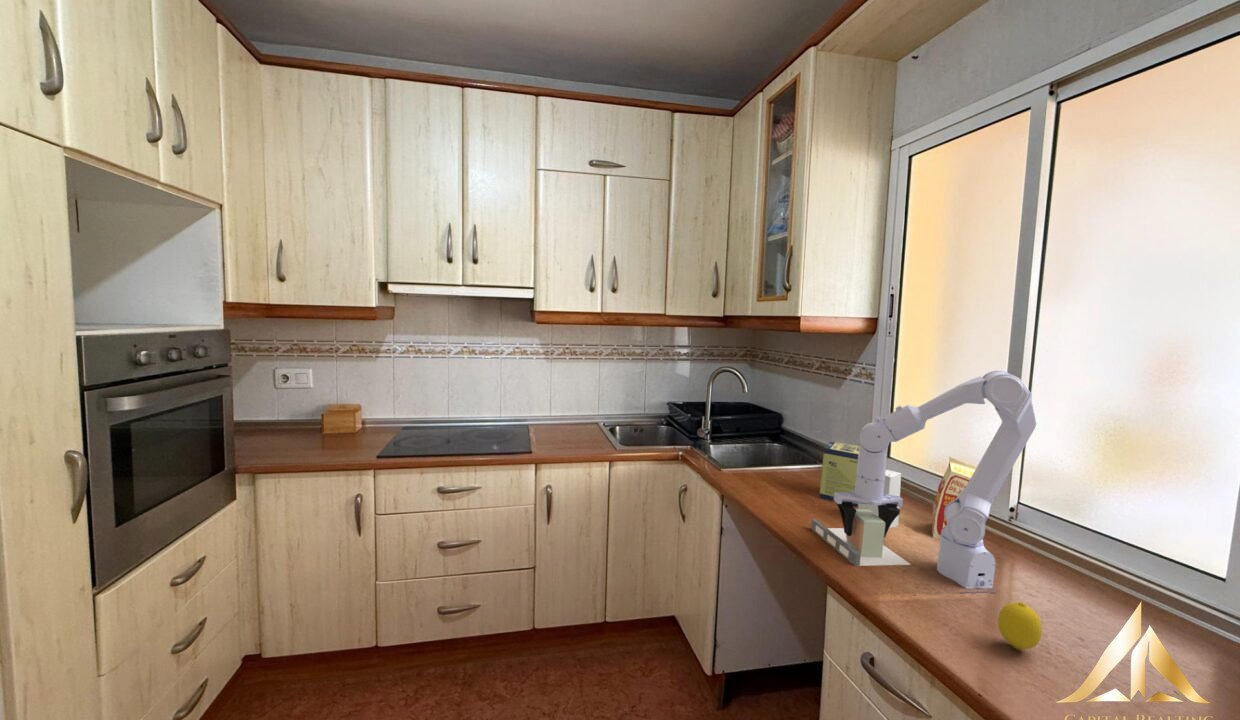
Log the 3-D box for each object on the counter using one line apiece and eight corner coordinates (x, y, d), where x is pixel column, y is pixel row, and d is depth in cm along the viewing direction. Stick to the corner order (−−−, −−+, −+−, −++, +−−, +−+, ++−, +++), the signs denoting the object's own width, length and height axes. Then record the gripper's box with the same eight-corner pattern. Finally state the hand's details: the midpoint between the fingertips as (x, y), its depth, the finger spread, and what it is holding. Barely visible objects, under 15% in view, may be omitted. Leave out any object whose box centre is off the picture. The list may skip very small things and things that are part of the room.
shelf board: (910, 569, 106) (912, 553, 106) (853, 571, 104) (855, 554, 104) (858, 532, 124) (860, 518, 123) (809, 533, 122) (811, 519, 121)
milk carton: (933, 537, 123) (942, 459, 121) (929, 524, 131) (938, 451, 129) (977, 547, 119) (987, 466, 117) (971, 533, 127) (980, 457, 125)
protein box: (876, 511, 139) (882, 457, 137) (818, 498, 147) (823, 447, 145) (879, 500, 147) (885, 449, 146) (824, 488, 155) (828, 440, 154)
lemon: (1018, 638, 84) (1024, 593, 83) (1047, 661, 79) (1054, 613, 78) (987, 637, 84) (992, 592, 83) (1014, 660, 78) (1020, 612, 78)
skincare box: (898, 529, 127) (904, 473, 125) (885, 534, 124) (891, 476, 122) (866, 517, 134) (872, 464, 132) (854, 521, 130) (859, 467, 129)
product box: (866, 542, 115) (869, 509, 114) (881, 557, 108) (885, 522, 108) (844, 541, 115) (848, 508, 115) (859, 556, 108) (862, 521, 108)
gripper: (846, 480, 106) (840, 541, 108) (913, 484, 106) (906, 544, 108) (832, 470, 113) (826, 527, 115) (895, 473, 113) (889, 530, 115)
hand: (864, 534), depth 111 cm, fingers open, 7 cm apart
